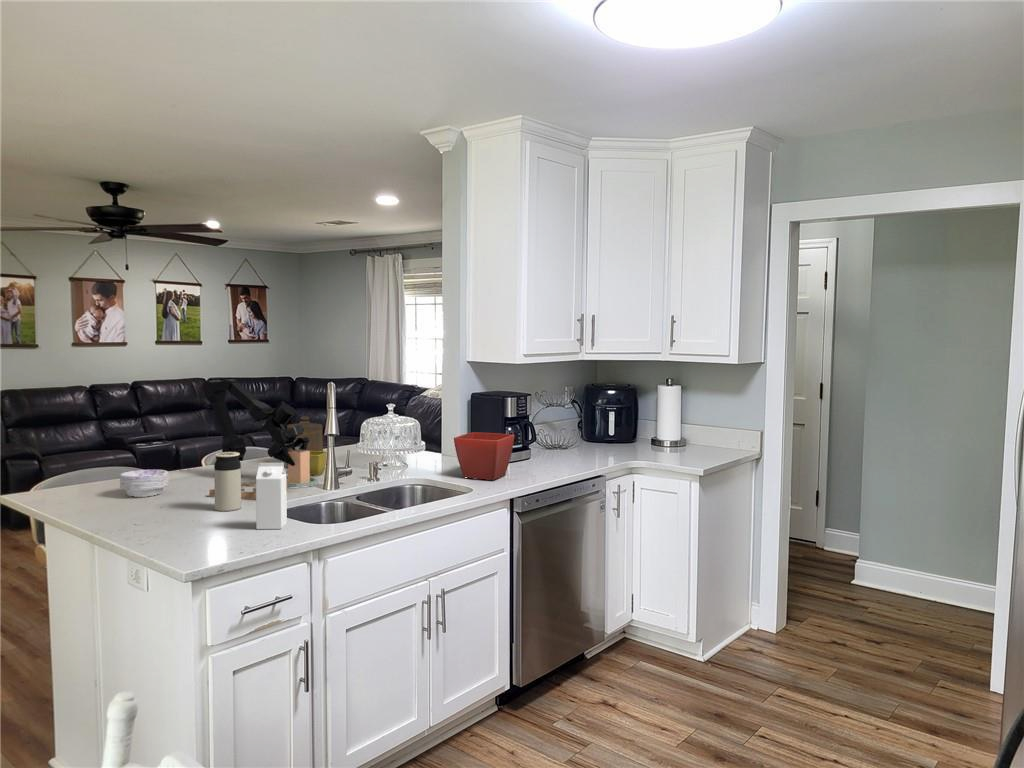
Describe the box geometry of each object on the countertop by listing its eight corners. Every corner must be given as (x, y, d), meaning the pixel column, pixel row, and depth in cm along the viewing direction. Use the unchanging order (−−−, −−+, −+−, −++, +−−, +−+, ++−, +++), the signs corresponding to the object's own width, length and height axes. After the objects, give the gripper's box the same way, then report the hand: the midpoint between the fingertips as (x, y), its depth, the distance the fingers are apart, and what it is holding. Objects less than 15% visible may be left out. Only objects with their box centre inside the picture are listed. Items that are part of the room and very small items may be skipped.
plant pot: (452, 479, 290) (452, 437, 289) (472, 471, 308) (473, 431, 306) (496, 483, 283) (497, 440, 282) (515, 475, 300) (515, 434, 299)
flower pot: (319, 477, 291) (319, 454, 290) (299, 476, 293) (299, 454, 292) (329, 473, 300) (329, 451, 299) (309, 472, 301) (309, 450, 301)
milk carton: (262, 523, 220) (261, 460, 219) (286, 523, 220) (286, 460, 219) (256, 529, 213) (255, 464, 212) (281, 529, 213) (280, 464, 212)
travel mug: (225, 512, 232) (224, 456, 231) (209, 509, 236) (208, 454, 235) (246, 508, 239) (245, 453, 238) (230, 504, 243) (230, 450, 242)
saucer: (274, 486, 272) (274, 482, 272) (292, 480, 285) (292, 476, 285) (305, 488, 269) (305, 484, 269) (323, 482, 282) (323, 478, 282)
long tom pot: (288, 483, 275) (287, 451, 274) (297, 481, 280) (297, 449, 280) (300, 484, 273) (300, 452, 272) (309, 482, 278) (309, 450, 278)
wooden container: (308, 463, 323) (307, 413, 322) (330, 466, 314) (330, 415, 313) (279, 467, 311) (279, 416, 310) (302, 471, 302) (301, 418, 301)
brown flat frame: (209, 496, 254) (209, 485, 254) (244, 485, 275) (244, 474, 274) (256, 500, 250) (256, 488, 250) (288, 488, 270) (288, 477, 270)
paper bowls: (159, 488, 267) (159, 466, 267) (175, 495, 257) (175, 472, 256) (114, 494, 257) (113, 471, 256) (128, 501, 246) (127, 478, 245)
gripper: (273, 420, 268) (299, 453, 265) (305, 415, 285) (329, 445, 282) (256, 441, 271) (281, 472, 268) (288, 434, 289) (312, 464, 285)
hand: (301, 463), depth 276 cm, fingers open, 9 cm apart
